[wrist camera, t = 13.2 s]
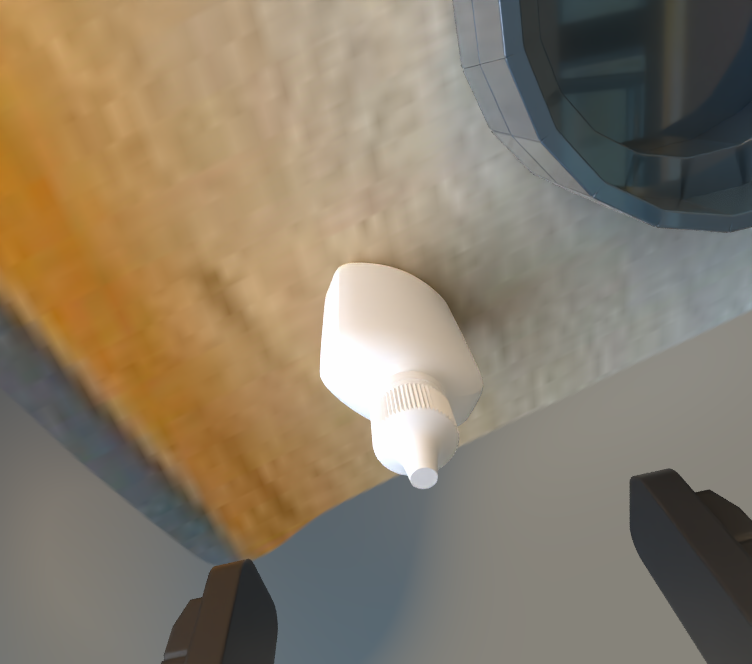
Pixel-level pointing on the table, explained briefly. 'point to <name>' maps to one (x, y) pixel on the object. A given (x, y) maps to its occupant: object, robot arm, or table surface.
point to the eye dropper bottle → (399, 366)
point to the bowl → (622, 100)
